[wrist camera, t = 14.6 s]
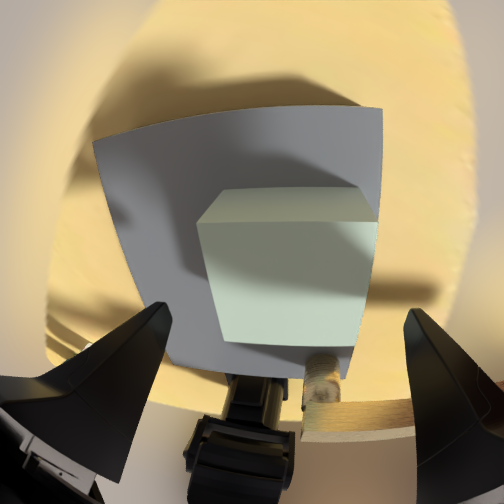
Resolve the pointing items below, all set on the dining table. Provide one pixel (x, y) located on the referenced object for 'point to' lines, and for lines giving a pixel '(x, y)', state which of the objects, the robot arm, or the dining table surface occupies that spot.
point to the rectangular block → (289, 263)
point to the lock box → (204, 194)
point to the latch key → (348, 409)
